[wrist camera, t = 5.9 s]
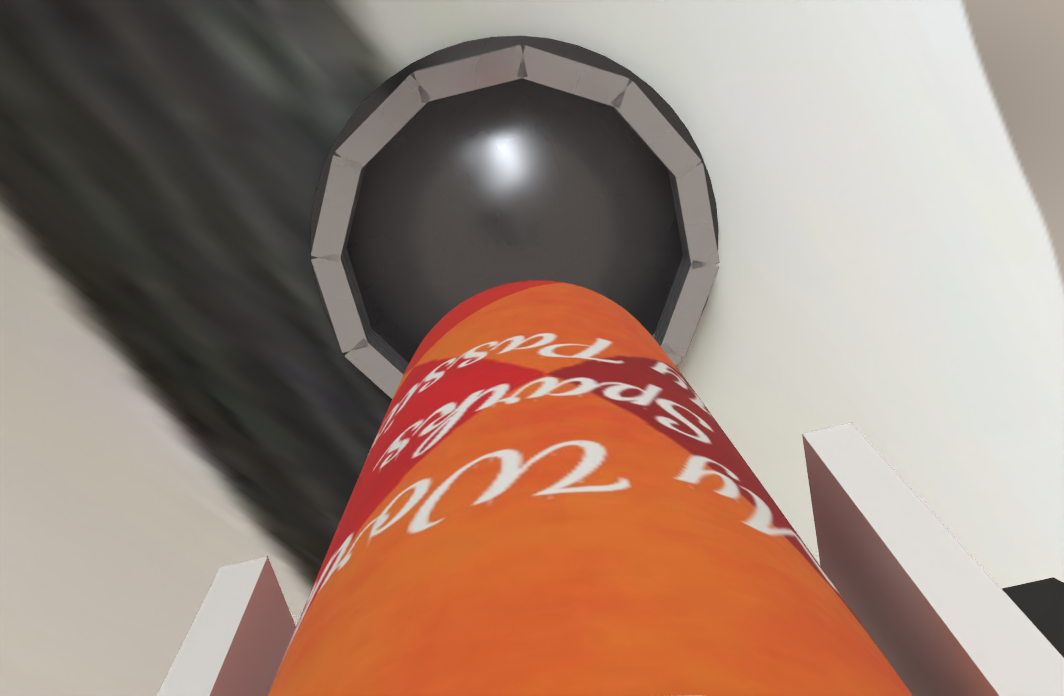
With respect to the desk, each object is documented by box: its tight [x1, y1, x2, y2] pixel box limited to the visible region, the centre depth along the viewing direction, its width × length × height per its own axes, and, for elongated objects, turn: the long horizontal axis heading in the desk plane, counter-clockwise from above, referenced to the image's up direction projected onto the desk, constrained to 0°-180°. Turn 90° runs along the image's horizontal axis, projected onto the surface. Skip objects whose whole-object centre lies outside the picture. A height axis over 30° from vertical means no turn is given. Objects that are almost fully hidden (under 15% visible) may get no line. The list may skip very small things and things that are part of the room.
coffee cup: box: [268, 280, 913, 696], centre depth 13 cm, size 8×8×15 cm
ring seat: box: [311, 36, 719, 399], centre depth 32 cm, size 15×15×2 cm
